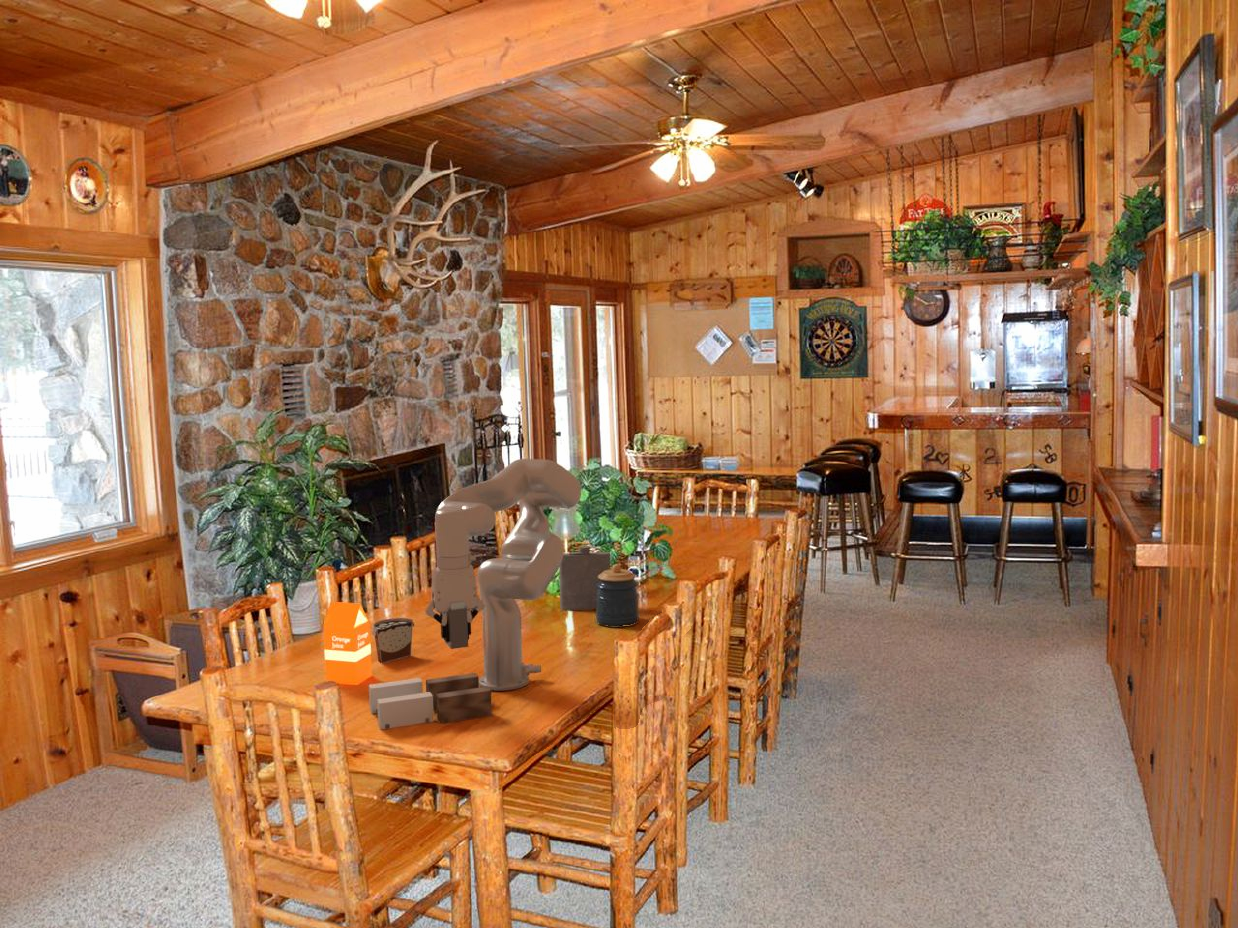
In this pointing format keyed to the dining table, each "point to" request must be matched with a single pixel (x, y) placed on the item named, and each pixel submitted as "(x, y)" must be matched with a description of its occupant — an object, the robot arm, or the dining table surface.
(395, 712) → the dock
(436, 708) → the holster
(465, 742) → the dining table surface
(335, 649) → the orange juice
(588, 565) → the hip flask
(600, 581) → the canister
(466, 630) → the plug
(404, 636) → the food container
